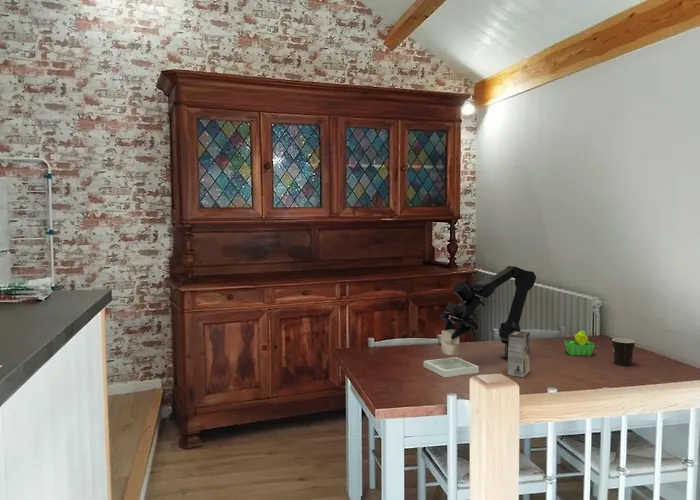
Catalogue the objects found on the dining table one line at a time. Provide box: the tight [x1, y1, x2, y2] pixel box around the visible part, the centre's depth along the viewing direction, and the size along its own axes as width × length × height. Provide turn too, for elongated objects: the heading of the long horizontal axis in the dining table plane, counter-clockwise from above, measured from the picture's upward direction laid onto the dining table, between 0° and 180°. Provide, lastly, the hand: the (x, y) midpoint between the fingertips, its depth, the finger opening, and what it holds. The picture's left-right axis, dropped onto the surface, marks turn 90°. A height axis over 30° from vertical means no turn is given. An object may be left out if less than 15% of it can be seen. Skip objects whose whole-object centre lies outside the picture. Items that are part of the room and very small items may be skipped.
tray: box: [423, 356, 480, 378], centre depth 225 cm, size 16×16×2 cm
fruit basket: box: [564, 330, 595, 356], centre depth 247 cm, size 11×9×11 cm
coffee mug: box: [611, 337, 636, 367], centre depth 230 cm, size 12×9×10 cm
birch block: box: [441, 329, 460, 356], centre depth 224 cm, size 5×5×9 cm
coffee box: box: [507, 331, 531, 378], centre depth 218 cm, size 9×6×16 cm
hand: (447, 337), depth 223 cm, fingers closed on birch block, 5 cm apart
